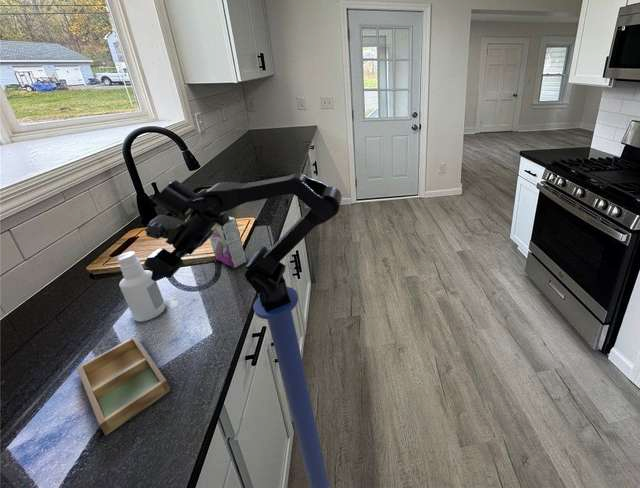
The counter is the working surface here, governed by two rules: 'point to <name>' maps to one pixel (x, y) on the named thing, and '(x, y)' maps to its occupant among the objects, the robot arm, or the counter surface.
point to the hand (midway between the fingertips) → (165, 268)
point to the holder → (122, 383)
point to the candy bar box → (228, 244)
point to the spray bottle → (139, 288)
